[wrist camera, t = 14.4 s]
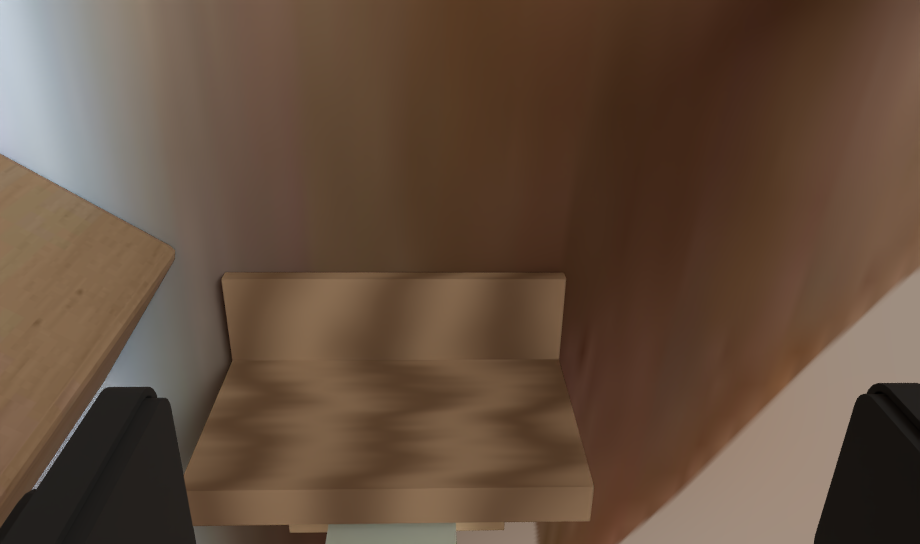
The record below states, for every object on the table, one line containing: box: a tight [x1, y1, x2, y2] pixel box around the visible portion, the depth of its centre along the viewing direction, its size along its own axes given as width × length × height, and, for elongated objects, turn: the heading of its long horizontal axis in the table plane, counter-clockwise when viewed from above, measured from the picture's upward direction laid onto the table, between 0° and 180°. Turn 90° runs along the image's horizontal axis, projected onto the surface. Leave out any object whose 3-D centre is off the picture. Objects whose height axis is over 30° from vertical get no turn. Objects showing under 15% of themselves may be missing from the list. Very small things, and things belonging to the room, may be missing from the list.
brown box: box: [184, 272, 594, 533], centre depth 39 cm, size 18×14×11 cm
